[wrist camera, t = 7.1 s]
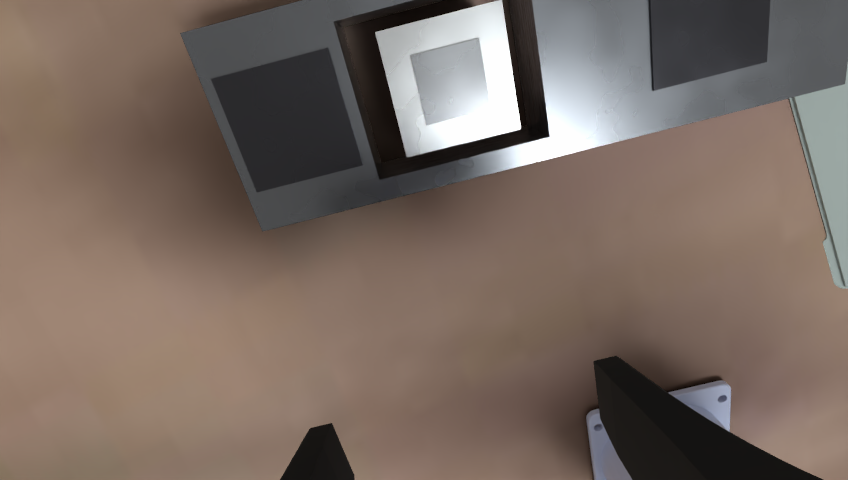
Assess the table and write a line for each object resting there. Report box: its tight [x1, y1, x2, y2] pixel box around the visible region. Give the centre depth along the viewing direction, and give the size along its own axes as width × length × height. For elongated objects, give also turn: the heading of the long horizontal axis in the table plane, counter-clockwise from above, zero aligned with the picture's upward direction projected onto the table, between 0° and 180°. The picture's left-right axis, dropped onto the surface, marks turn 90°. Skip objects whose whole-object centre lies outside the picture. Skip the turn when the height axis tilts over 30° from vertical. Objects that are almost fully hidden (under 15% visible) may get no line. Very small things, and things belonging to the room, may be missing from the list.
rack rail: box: [180, 0, 848, 231], centre depth 16 cm, size 7×22×3 cm, turn 103°
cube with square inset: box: [375, 0, 521, 157], centre depth 16 cm, size 4×4×4 cm
